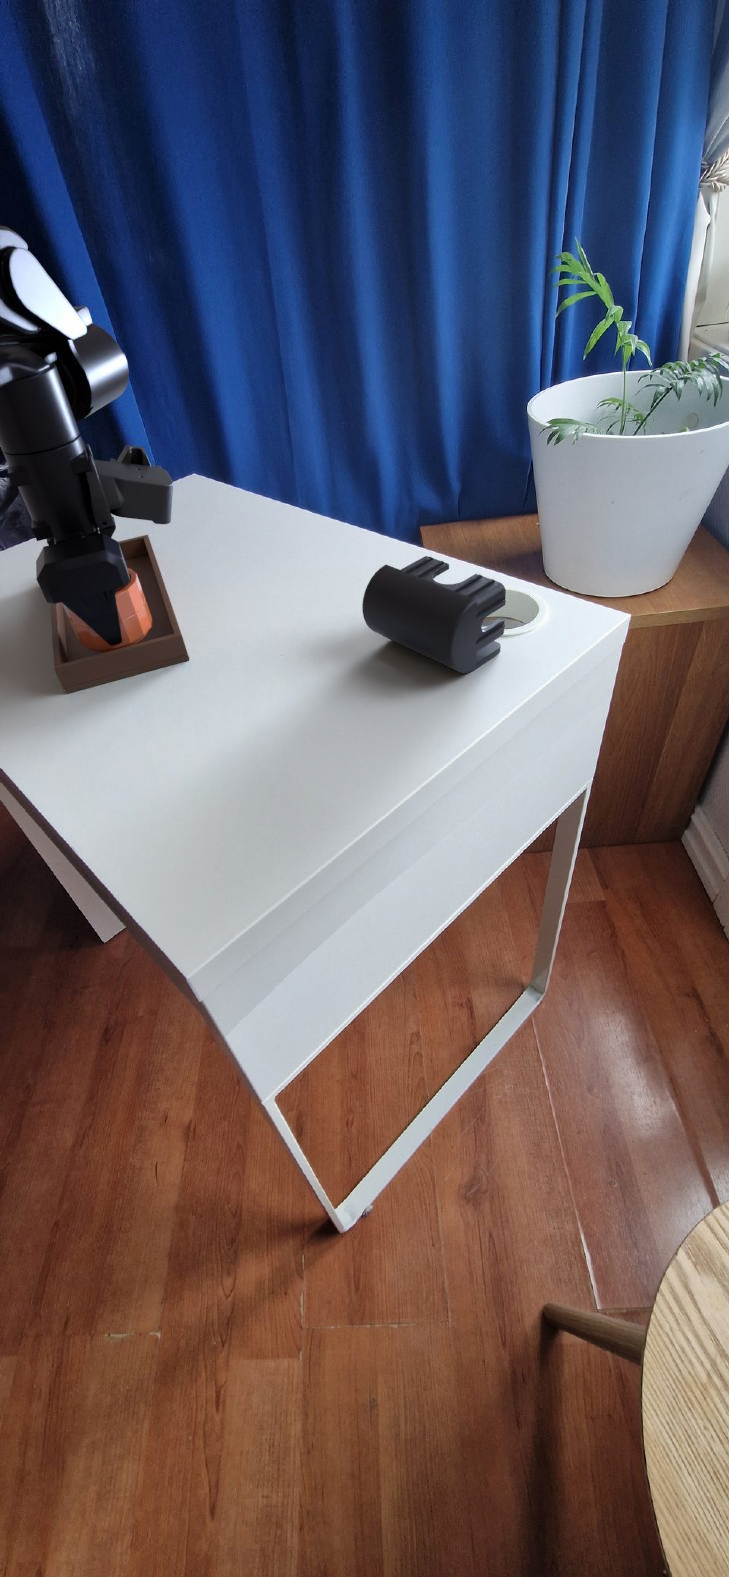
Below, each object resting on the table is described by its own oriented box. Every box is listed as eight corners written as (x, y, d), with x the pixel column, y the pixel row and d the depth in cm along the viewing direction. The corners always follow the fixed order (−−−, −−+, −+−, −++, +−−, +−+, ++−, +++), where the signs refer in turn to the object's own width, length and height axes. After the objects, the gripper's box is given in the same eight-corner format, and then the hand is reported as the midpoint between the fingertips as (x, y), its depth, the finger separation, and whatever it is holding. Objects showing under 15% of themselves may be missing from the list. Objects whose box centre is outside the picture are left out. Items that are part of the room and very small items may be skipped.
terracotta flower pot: (96, 664, 61) (74, 612, 57) (70, 635, 65) (48, 585, 62) (166, 634, 63) (148, 583, 60) (136, 608, 67) (118, 559, 64)
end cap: (365, 649, 62) (357, 578, 57) (421, 616, 65) (417, 545, 60) (450, 692, 56) (449, 616, 51) (507, 653, 59) (511, 578, 54)
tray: (189, 660, 63) (181, 634, 61) (65, 694, 61) (53, 669, 59) (154, 556, 80) (147, 534, 78) (56, 580, 78) (47, 558, 76)
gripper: (165, 454, 48) (220, 651, 58) (134, 393, 61) (184, 563, 71) (-5, 491, 46) (84, 688, 56) (2, 419, 59) (73, 590, 69)
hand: (112, 625), depth 63 cm, fingers closed on terracotta flower pot, 7 cm apart
